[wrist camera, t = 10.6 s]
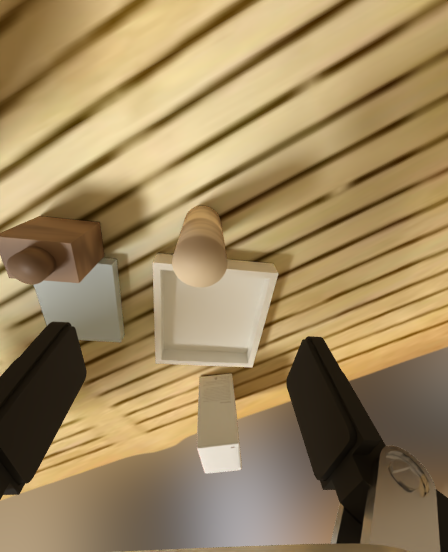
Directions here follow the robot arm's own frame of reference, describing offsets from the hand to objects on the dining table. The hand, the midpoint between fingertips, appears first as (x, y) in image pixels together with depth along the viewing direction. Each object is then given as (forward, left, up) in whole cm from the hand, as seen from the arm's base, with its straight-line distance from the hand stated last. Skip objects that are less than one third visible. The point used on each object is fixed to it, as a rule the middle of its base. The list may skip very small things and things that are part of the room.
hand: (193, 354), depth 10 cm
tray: (-12, -2, -18) cm, 22 cm away
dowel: (0, 0, -18) cm, 18 cm away
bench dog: (-3, +14, -18) cm, 23 cm away
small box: (-29, -5, -18) cm, 35 cm away
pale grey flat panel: (-11, +14, -19) cm, 26 cm away
